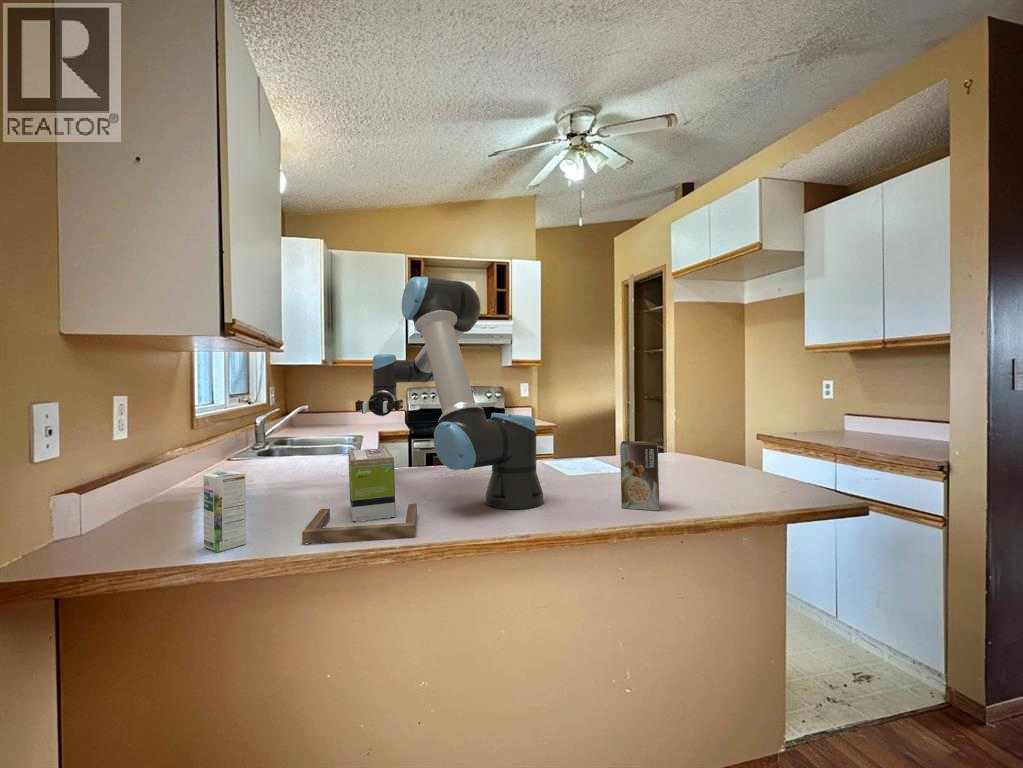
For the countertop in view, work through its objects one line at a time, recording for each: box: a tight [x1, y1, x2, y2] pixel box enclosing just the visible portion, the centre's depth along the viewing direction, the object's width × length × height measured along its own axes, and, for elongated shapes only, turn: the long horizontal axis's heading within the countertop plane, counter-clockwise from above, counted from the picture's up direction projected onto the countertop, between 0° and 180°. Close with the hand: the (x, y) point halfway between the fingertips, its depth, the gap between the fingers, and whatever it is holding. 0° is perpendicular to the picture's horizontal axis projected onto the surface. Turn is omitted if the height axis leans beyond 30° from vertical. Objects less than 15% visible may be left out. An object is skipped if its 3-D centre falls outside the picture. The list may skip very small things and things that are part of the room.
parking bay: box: [301, 503, 418, 545], centre depth 108 cm, size 22×18×2 cm
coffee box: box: [619, 440, 661, 512], centre depth 123 cm, size 9×6×16 cm
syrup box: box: [203, 470, 247, 553], centre depth 98 cm, size 6×6×14 cm
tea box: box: [347, 447, 396, 522], centre depth 121 cm, size 15×10×15 cm, turn 21°
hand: (374, 407), depth 131 cm, fingers open, 4 cm apart
